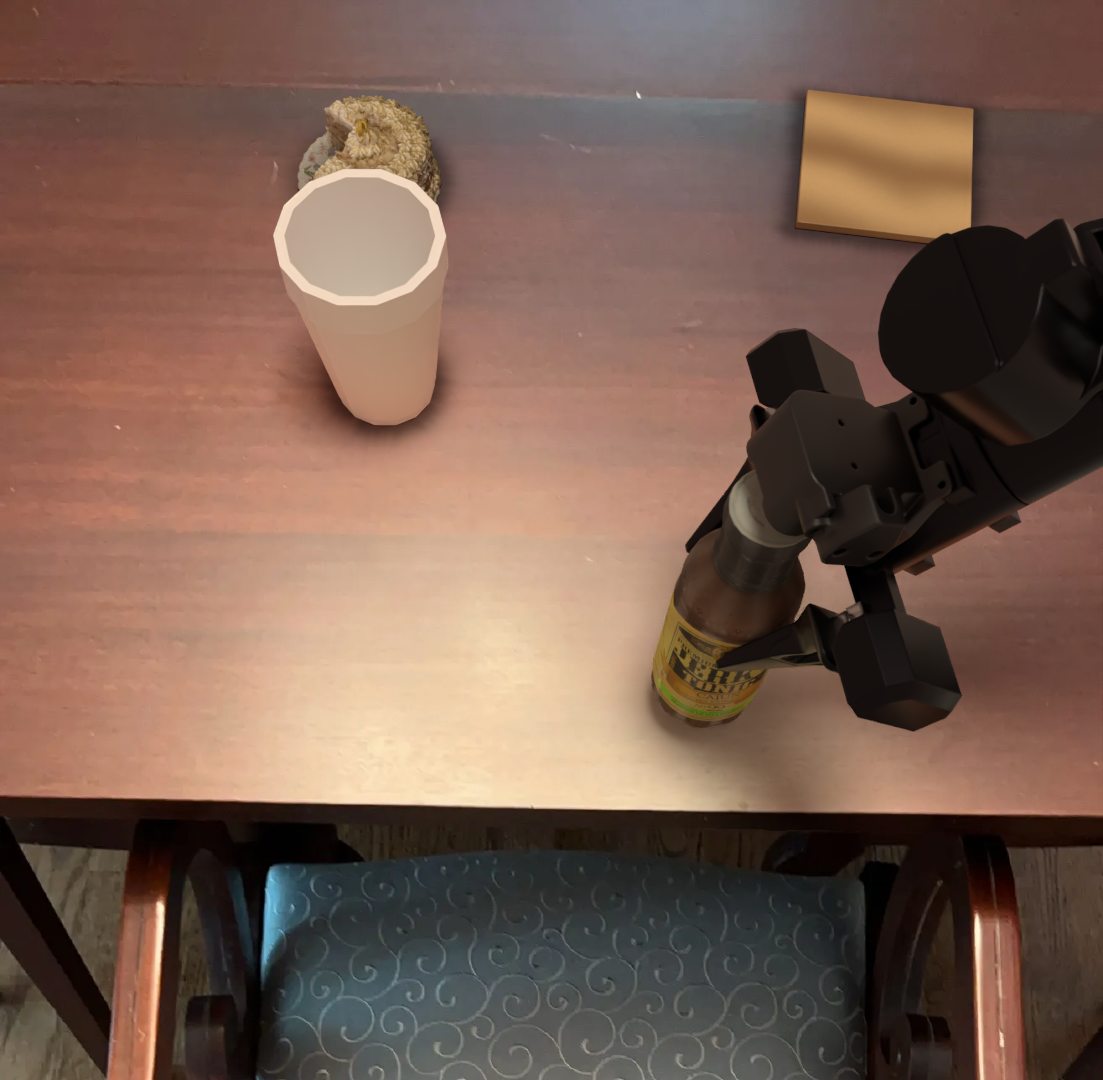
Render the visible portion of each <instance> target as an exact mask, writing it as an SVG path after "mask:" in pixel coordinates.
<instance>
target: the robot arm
mask: <svg viewBox="0 0 1103 1080" xmlns="http://www.w3.org/2000/svg"><path fill="white" fill-rule="evenodd" d="M879 314H880V315H879V320H878V321H879V322H878V327H877V338H878V349H879V354H880V358H881V361H882V363H883V365H884V367H885V368H886V369H887V371H888V373H889V374H890V375H891V377H892V378H893V379H894V380H896V381H897V383H899V384H901V385H902V386H903V387H905V388H906V389H908V390H909V391H910V393H908V394H907V395H904V396H903V397H902V398H900V399H898V400H897V401H893V402H889V403H886V404H881V405H878V406H875V405H873V404H872V403H871V402H869V401H867V400H866V397H865V394H864V390H863V388H862V387H863V386H862V385H861V384H862V383H861V381H860V378H859V375H858V371H857V368H856V365H855V362H854V361H853V360H851V359H850V358H848V357H847V356H845V355H844V354H842V353H841V352H840V351H838V350H837V349H836V348H833V346H831V345H830V344H828V343H827V342H825V341H824V340H822V339H821V338H819V337H818V336H817V335H815V334H814V333H812V332H811V331H809V330H808V329H806V328H799V327H793V328H787V329H786V328H785V329H780V330H776V331H775V332H774V333H772V334H771V335H770V336H768V337H767V338H765V339H764V340H762V341H761V342H759V343H758V344H757V345H755V346H754V347H753V348H751V349H750V350H749V351H748V352H747V354H746V355H745V359H746V363H747V366H748V370H749V373H750V376H751V380H752V383H753V386H754V390H755V394H756V396H757V400H758V403H759V404H753V405H752V407H751V408H750V411H749V415H748V416H749V417H748V418H749V422H750V438H749V439H748V440H747V442H746V447H745V448H746V449H745V450H746V455H747V457H746V459H745V460H744V463H743V464H742V466H741V468H740V469H739V471H738V472H737V473H736V475H735V477H734V479H733V480H732V481H731V483H730V484H729V486H728V487H727V489H726V490H725V491H724V492H723V494H722V495H721V497H720V498H719V499H718V501H717V502H716V503H715V505H713V507H712V508H711V509H710V511H709V512H708V514H707V515H706V516H705V518H704V519H703V520H702V521H701V523H700V524H699V525H698V527H697V528H696V529H695V531H694V532H693V533H692V535H691V536H690V537H689V538H688V540H687V541H686V542H685V544H684V548H685V552H686V553H687V554H689V553H690V551H691V549H692V548H693V547H694V546H695V545H696V543H697V542H698V541H699V540H700V538H702V537H704V536H705V535H707V534H708V533H710V532H712V531H714V530H716V529H719V528H721V527H722V525H723V521H722V515H723V510H724V505H725V503H726V500H727V498H728V495H729V494H730V492H731V489H732V487H733V486H734V485H735V484H736V482H737V481H738V480H739V479H740V478H741V477H742V476H744V475H745V474H747V473H749V472H750V471H752V470H755V471H756V474H757V478H758V481H759V485H760V488H761V492H762V495H763V501H762V508H763V511H764V514H765V517H766V519H767V521H768V522H769V524H770V525H771V526H772V527H773V528H774V529H775V530H777V531H778V532H780V533H782V534H784V535H788V536H800V535H803V534H804V536H805V537H807V538H812V540H813V541H814V544H815V546H816V549H817V552H818V556H819V559H820V562H821V563H822V564H825V565H830V566H831V565H832V566H843V567H844V570H845V573H846V577H847V579H848V580H847V581H848V584H849V586H850V590H851V593H852V597H853V600H854V604H851V605H849V606H847V607H846V608H845V610H843V611H841V612H839V613H838V612H835V611H832V610H831V609H829V608H828V609H827V608H825V607H823V606H820V605H817V604H814V603H811V602H809V603H807V604H806V606H805V607H804V608H803V610H802V612H801V614H800V615H799V617H798V618H796V619H795V621H794V622H793V623H791V624H789V625H786V626H784V627H782V628H780V629H778V630H775V631H773V632H771V633H769V634H766V635H764V636H762V637H760V638H757V639H755V640H753V641H751V642H749V643H746V644H744V645H742V646H740V647H737V648H735V649H734V650H732V651H730V652H729V653H727V654H726V655H724V656H723V657H721V658H720V659H718V660H717V661H716V662H715V664H716V668H717V669H718V670H722V671H726V672H735V671H749V670H762V669H769V670H773V669H774V670H775V669H787V668H799V667H800V668H802V667H803V668H804V667H824V668H825V669H826V670H828V671H830V672H833V673H835V674H838V676H839V680H840V683H841V686H842V689H843V693H844V696H845V700H846V703H847V705H848V707H849V708H850V709H851V710H852V712H853V713H854V714H855V716H856V717H857V718H858V719H861V720H862V719H863V720H866V721H871V722H874V723H878V724H882V725H886V726H890V727H894V728H898V729H902V730H905V731H910V732H917V731H919V730H922V729H924V728H926V727H928V726H931V725H933V724H936V723H938V722H940V721H943V720H945V719H947V717H949V715H950V714H952V713H953V711H954V709H955V708H956V706H957V704H958V703H959V701H960V700H961V698H962V697H963V694H962V691H961V687H960V685H959V681H958V678H957V675H956V673H955V668H954V667H953V663H952V660H951V658H950V657H951V656H950V655H949V651H948V647H947V645H946V641H945V638H944V636H943V635H944V634H943V633H942V630H941V627H940V626H938V625H935V624H933V623H931V622H929V621H928V622H927V621H925V620H923V619H921V618H918V617H915V616H913V615H911V614H908V613H907V609H906V606H905V603H904V600H903V598H902V595H901V591H900V588H899V585H898V582H897V578H896V574H898V573H900V572H903V571H904V572H906V573H908V574H911V575H912V576H914V577H916V576H919V575H921V574H922V573H925V572H927V571H929V570H930V569H932V568H934V567H936V563H935V560H934V557H933V555H935V554H937V553H939V552H941V551H943V550H945V549H947V548H950V547H951V546H952V545H954V544H956V543H958V542H960V541H962V540H964V539H966V538H968V537H970V536H972V535H974V534H976V533H978V532H980V531H982V530H983V529H986V528H987V527H988V528H990V529H991V530H993V531H994V532H996V533H998V534H1001V533H1003V532H1006V531H1007V530H1009V529H1011V528H1013V527H1015V526H1017V525H1019V524H1021V523H1022V520H1021V518H1020V515H1019V512H1018V511H1020V510H1022V509H1024V508H1026V507H1028V506H1029V505H1032V504H1034V503H1036V502H1038V501H1040V500H1041V499H1044V498H1046V497H1048V496H1049V495H1051V494H1053V493H1055V492H1057V491H1059V490H1061V489H1064V488H1065V487H1067V486H1069V485H1071V484H1073V483H1075V482H1077V481H1079V480H1081V479H1082V478H1084V477H1086V476H1088V475H1090V474H1092V473H1094V472H1096V471H1098V470H1101V469H1102V468H1103V217H1100V218H1096V219H1093V220H1089V221H1084V222H1082V223H1081V222H1080V224H1077V225H1076V226H1074V227H1073V228H1072V227H1071V225H1070V224H1069V223H1068V222H1067V220H1066V219H1065V218H1063V217H1061V218H1055V219H1053V220H1051V221H1050V222H1049V223H1047V224H1046V225H1044V226H1042V227H1041V228H1040V229H1038V230H1037V231H1035V232H1034V233H1032V234H1030V235H1029V236H1028V237H1026V238H1025V237H1024V236H1023V235H1021V234H1019V233H1017V232H1015V231H1014V230H1012V229H1010V228H1008V227H1003V226H998V225H997V226H996V225H991V224H986V225H977V226H971V227H969V228H966V229H963V230H961V231H958V232H955V233H952V234H950V233H945V234H942V235H941V236H939V237H938V238H936V239H934V240H933V241H931V242H930V243H926V245H925V246H923V247H922V248H921V249H920V250H919V251H917V253H915V255H913V256H912V257H911V258H910V259H909V261H908V262H907V263H906V264H905V266H904V267H903V268H902V269H901V270H900V272H899V273H898V274H897V276H896V277H895V279H894V281H893V283H892V285H891V287H890V288H889V290H888V292H887V294H886V297H885V300H884V303H883V304H882V308H881V310H880V313H879ZM761 405H762V406H761ZM765 407H766V408H765Z"/></svg>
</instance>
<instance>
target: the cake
mask: <svg viewBox="0 0 1103 1080" xmlns="http://www.w3.org/2000/svg"><path fill="white" fill-rule="evenodd" d="M324 114H325V115H326V122H327V123H326V124H327V125H324V128H325V129H326V132H324V134H323V135H321V136H318V137H317V138H316V139H315V140H314V141H313V143H311V144H310V145H309V146H308V148H307V149H306V151H305V152H304V153H303V154H302V158H301V161H300V162H299V165H298V172H297V174H296V175H297V180H298V181H297V187H298V189H299V191H300V190H301V189H302V188H303V187H304V186H305V185H306V184H307V183H308V182H310V181H313V180H315V179H318V178H321V177H324V176H326V175H329V174H332V173H334V172H337V171H340V170H343V169H382V170H385V171H387V172H390V173H393V174H395V175H398V176H400V177H403V178H405V179H408V180H410V181H413V182H415V183H416V184H417V185H418V186H419V187H420V188H421V189H422V190H423V191H424V192H425V193H426V194H427V195H428V196H429V197H430V198H431V199H432V200H433V201H434V202H435V203H436V204H437V202H438V199H437V198H438V197H439V196H440V194H441V189H440V187H441V186H442V180H441V170H440V169H439V163H438V161H437V159H435V156H434V153H433V151H432V149H433V146H432V143H431V142H432V138H431V137H430V136H429V135H430V132H429V126H428V125H426V124H425V123H424V117H423V116H422V115H419V116H418V115H417V113H416V112H414V109H413V108H411V107H409V106H407V105H404V104H402V105H400V103H399V101H397V100H395V99H394V98H393V99H391V98H388V99H387V100H385V99H384V96H383V95H379V96H378V94H376V95H373V96H372V95H368V96H366V95H365V94H362V95H360V97H359V96H357V97H352V96H351V95H349V96H348V97H344V98H343V99H342V100H339V99H338V100H337V99H336V100H335V101H334V102H332V103H331V105H329V106H328V107H324Z"/></svg>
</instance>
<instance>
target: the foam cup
mask: <svg viewBox="0 0 1103 1080" xmlns="http://www.w3.org/2000/svg"><path fill="white" fill-rule="evenodd" d="M272 236H273V242H274V246H275V250H276V255H277V260H278V265H279V269H280V272H281V277H282V280H283V283H284V287H285V291H286V294H287V297H288V298H289V299H290V301H292V302H293V304H294V305H295V306H296V308H297V310H298V313H299V314H300V317H301V319H302V321H303V323H304V326H305V327H306V329H307V332H308V334H309V336H310V338H311V340H312V342H313V345H314V346H315V348H316V351H317V353H318V355H319V358H320V359H321V362H322V363H323V366H324V368H325V370H326V372H327V374H328V376H329V378H330V381H331V383H332V384H333V387H334V389H335V391H336V393H337V395H338V397H339V399H340V400H341V403H342V404H343V405H344V407H345V408H346V409H347V410H348V411H349V412H350V414H352V415H353V417H354V418H356V419H359V420H361V421H364V422H366V423H369V424H371V425H373V426H398V425H401V424H402V423H405V422H408V421H409V420H412V419H415V418H417V417H418V416H419V415H420V414H421V413H422V412H423V411H424V409H425V408H426V407H427V406H428V405H429V404H430V403H431V401H432V397H433V394H434V390H435V386H436V380H437V371H438V358H439V347H440V345H439V344H440V335H441V324H442V323H441V322H442V311H443V301H444V300H443V299H444V289H445V288H444V286H445V281H446V278H447V274H448V272H449V269H450V262H449V253H448V242H447V241H448V240H447V233H446V230H445V226H444V223H443V219H442V215H441V211H440V207H439V205H438V204H437V202H436V203H435V202H434V201H433V200H432V199H431V198H430V197H429V196H428V195H427V194H426V193H425V192H424V191H423V190H422V189H421V188H420V187H419V186H418V185H417V184H416V183H415V182H413V181H410V180H408V179H405V178H403V177H400V176H398V175H395V174H393V173H390V172H387V171H385V170H382V169H343V170H340V171H337V172H334V173H332V174H329V175H326V176H324V177H321V178H318V179H315V180H313V181H310V182H308V183H307V184H306V185H305V186H304V187H303V188H302V189H301V190H299V191H297V192H296V193H295V194H294V195H293V196H292V197H291V198H290V199H289V200H288V201H287V202H286V203H284V205H283V207H282V208H281V212H280V215H279V217H278V221H277V223H276V226H275V229H274V232H273V234H272Z"/></svg>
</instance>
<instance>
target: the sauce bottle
mask: <svg viewBox="0 0 1103 1080" xmlns="http://www.w3.org/2000/svg"><path fill="white" fill-rule="evenodd" d="M762 501H763V495H762V492H761V488H760V485H759V481H758V478H757V474H756V471H755V470H752V471H750V472H749V473H747V474H745V475H744V476H742V477H741V478H740V479H739V480H738V481H737V482H736V484H735V485H734V486H733V487H732V489H731V492H730V494H729V495H728V498H727V500H726V503H725V505H724V510H723V515H722V521H723V525H722V527H721V528H719V529H716V530H714V531H712V532H710V533H708V534H707V535H705V536H704V537H702V538H700V540H699V541H698V542H697V543H696V545H695V546H694V547H693V548H692V549H691V551H690V553H687V556H686V558H685V559H684V563H683V564H682V568H681V571H680V574H679V575H678V577H677V579H676V581H675V585H674V587H673V590H672V594H671V597H670V600H669V604H668V608H667V611H666V614H665V617H664V621H663V625H662V629H661V632H660V636H659V638H658V643H657V644H656V649H655V651H654V656H653V659H652V670H651V675H650V678H651V689H652V692H653V695H654V697H655V699H656V701H657V702H658V703H659V704H660V706H661V708H662V709H663V711H664V712H665V713H666V714H667V715H668V716H670V717H672V718H674V719H675V720H676V721H678V722H681V723H683V724H685V725H687V726H689V727H691V728H695V729H708V728H715V727H719V726H723V725H727V724H730V723H732V722H734V721H735V720H736V719H738V717H740V715H741V714H742V713H743V712H744V711H745V710H746V708H747V707H748V706H749V705H750V704H751V702H752V701H753V700H754V698H755V697H756V695H757V693H758V691H759V689H760V687H761V686H762V684H763V682H764V680H765V678H766V677H767V674H768V672H769V670H770V669H762V670H749V671H735V672H726V671H722V670H718V669H717V668H716V664H715V662H716V661H717V660H718V659H720V658H721V657H723V656H724V655H726V654H727V653H729V652H730V651H732V650H734V649H735V648H737V647H740V646H742V645H744V644H746V643H749V642H751V641H753V640H755V639H757V638H760V637H762V636H764V635H766V634H769V633H771V632H773V631H775V630H778V629H780V628H782V627H784V626H786V625H789V624H791V623H793V622H795V621H796V616H797V615H798V612H799V611H800V608H801V606H802V603H803V599H804V595H805V592H806V580H805V579H806V578H805V573H804V569H803V566H802V563H801V560H800V558H799V556H800V554H801V553H802V552H804V551H805V550H806V548H808V546H809V544H810V543H811V541H812V540H813V539H812V538H807V537H805V536H804V534H803V535H800V536H788V535H784V534H782V533H780V532H778V531H777V530H775V529H774V528H773V527H772V526H771V525H770V524H769V522H768V521H767V519H766V517H765V514H764V511H763V508H762Z"/></svg>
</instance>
